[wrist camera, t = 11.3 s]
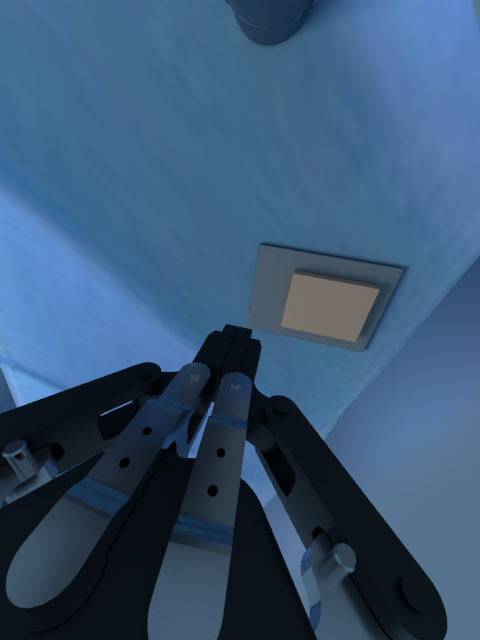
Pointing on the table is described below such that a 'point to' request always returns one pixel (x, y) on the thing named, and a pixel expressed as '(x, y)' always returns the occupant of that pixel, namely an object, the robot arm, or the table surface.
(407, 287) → the table surface
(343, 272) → the mat
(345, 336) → the tile
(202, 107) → the table surface
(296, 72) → the table surface
